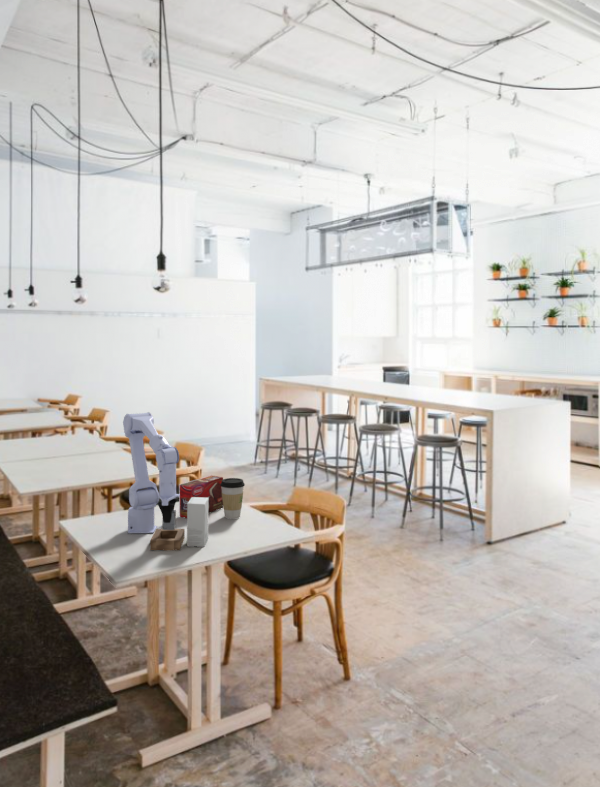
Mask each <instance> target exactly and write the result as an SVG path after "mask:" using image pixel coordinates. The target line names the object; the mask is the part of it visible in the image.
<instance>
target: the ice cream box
mask: <svg viewBox="0 0 600 787" xmlns="http://www.w3.org/2000/svg"><path fill="white" fill-rule="evenodd" d="M223 479H224V477H223V476H216V475H212V474H211V475H208V476H205V477H204V476H203V477H201V478H198V479H193V480H190V481H187V482H184V483H181V484H178V494H180V496H179V497H178V498H179V499H178V500H179V503H178V506H179V507H178V511H179V512H178V513H179V516H180V517H179V518H183V517H185V518H184V519H187V503H188V502H189V500H190V499H191V498H192V497H206V498H209V500H208V514H210V512H211V513H213V512H216V511H218V510H221V508H222V509H223V500H222V488H221V486H220V484H221V482H222V480H223Z"/></svg>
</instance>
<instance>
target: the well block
mask: <svg viewBox="0 0 600 787" xmlns="http://www.w3.org/2000/svg"><path fill="white" fill-rule="evenodd" d="M185 530H186V529H185V528H175V529H174V530H162V528H156V529H155V531H154V533H152V537H151V538H150V540H149V543H150V544H149V549H150V550H164V551H181V549H182V545H183V543H184V540H185V539H186V538H185V537H186V536H185V535H186V534H185Z"/></svg>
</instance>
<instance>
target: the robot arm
mask: <svg viewBox="0 0 600 787" xmlns="http://www.w3.org/2000/svg"><path fill="white" fill-rule="evenodd" d="M122 423H123V433H124V436H125V437H126V438H128V440H129V442H128V443H129V447H130V453H131V460H132V468H133V474H134V481H135V482H134V483H133V484H132V485H131V486H130V487H129V489H128V492H129V493H128V500H129V501H128V502H129V505H130V507H129V508H128V511H127V534H154V533H155V531H156V529H158V525H155V508H156V507H157V506H158V508H159V509H160V512H161V516H162V522H163V521H164V523H170V521H171V516H172V510H175V507H176V503H177V501H178V498H179V496H180V494H179V493H177V464H178V463H179V462H180V452H179V450H178V449H177V447H176V446H173V445H170V444H169V442H168V441H167V439H166V438H165V437H164V436H163V434H159V433H158V431H157V429H156V427H155V425H154V423H155V422H154V416H153V414H152V413H151V412H149V411H148V412H139V413H126V414H125V415H124V416H123V421H122ZM145 437H147V438H148V440H149V443H148V444H149V447H150V448H151V450H152V451H153V452H154V454H155V460H156V464H157V469H158V473H159V476H158V477H159V479H158V480H159V485H158V486H159V489H158V488H157V484H156V483H155V482H153V481H152V480H150V477H149V470H148V465H147V458H146V452H145V445H144V438H145ZM158 490H159V491H158Z"/></svg>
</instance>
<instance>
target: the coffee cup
mask: <svg viewBox="0 0 600 787" xmlns="http://www.w3.org/2000/svg"><path fill="white" fill-rule="evenodd" d="M245 485H246V484H245V482H244V479H242V478H238V477H230V478H223V480H222V482H221V484H220V486H221V488H222V500H223V508H222V509H223V513H224V514H223V515H224V518H225V519H228V520H236V519H239V517H240V518H241V512H242V506H243V497H244V487H245Z"/></svg>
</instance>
